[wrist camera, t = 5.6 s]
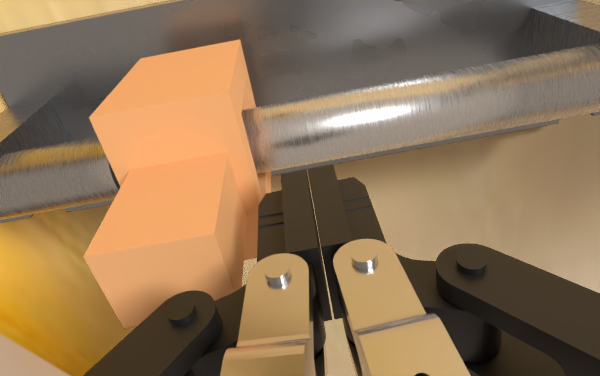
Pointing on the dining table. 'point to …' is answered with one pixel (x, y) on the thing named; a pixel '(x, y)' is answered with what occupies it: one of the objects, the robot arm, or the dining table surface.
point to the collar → (177, 181)
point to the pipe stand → (298, 81)
